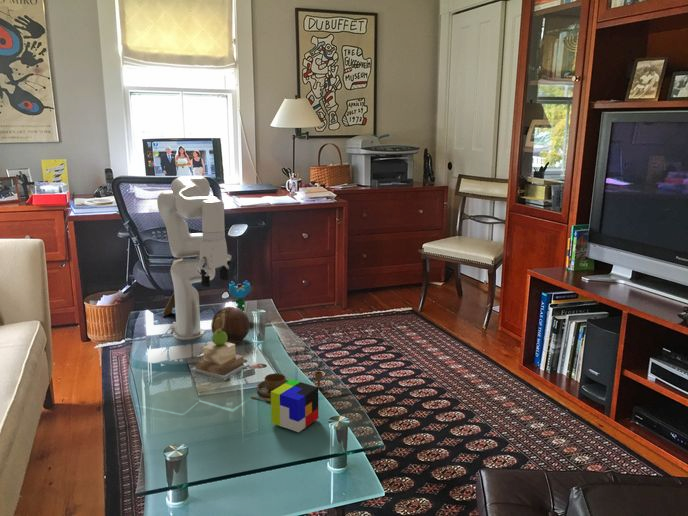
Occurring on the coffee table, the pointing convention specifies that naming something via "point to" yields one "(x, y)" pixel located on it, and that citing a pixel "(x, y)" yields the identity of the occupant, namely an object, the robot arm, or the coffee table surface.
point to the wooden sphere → (233, 324)
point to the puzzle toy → (294, 405)
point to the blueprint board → (223, 375)
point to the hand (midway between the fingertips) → (215, 282)
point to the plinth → (220, 367)
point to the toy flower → (239, 292)
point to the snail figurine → (219, 331)
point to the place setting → (278, 383)
